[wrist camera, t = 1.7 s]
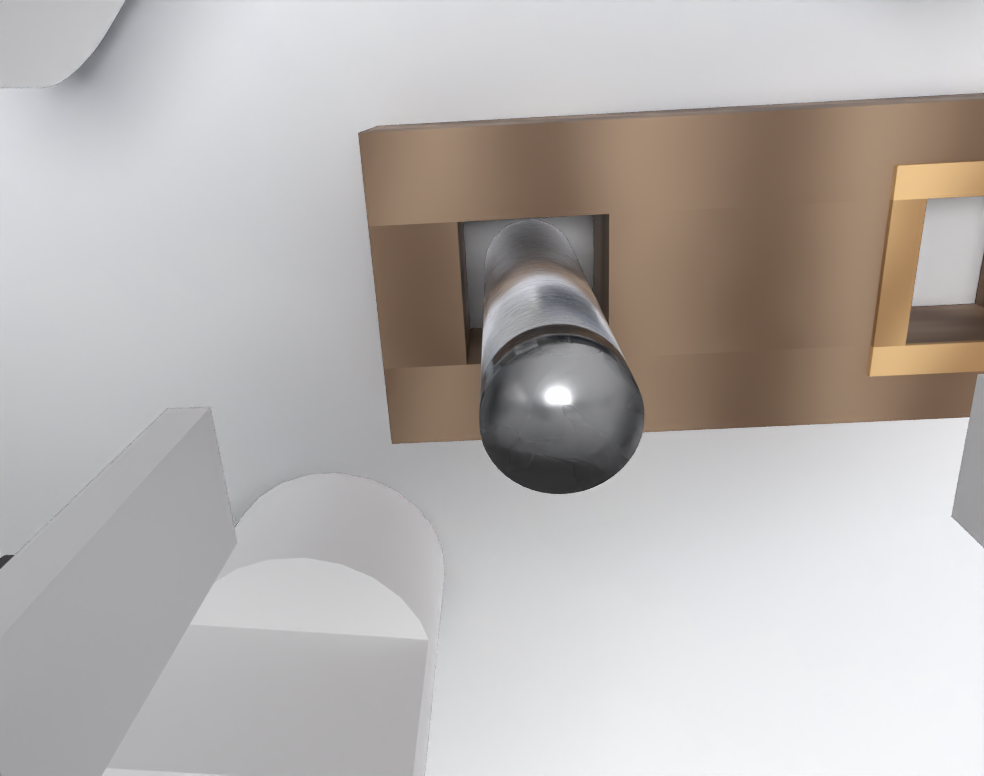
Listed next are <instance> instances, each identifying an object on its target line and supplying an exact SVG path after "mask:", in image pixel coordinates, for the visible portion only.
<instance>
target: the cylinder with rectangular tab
mask: <svg viewBox="0 0 984 776" xmlns="http://www.w3.org/2000/svg"><path fill="white" fill-rule="evenodd" d="M235 534H236V539H237V544H236V546H235V548H234V549H233V551H232V553H231V555H230V556H229V558H228V560H227V561H226V563H225V565H224V567H223V568H222V570H221V572H220V573H219V575H218V577H217V579H216V580H215V582H214V584H213V585H212V587H211V589H210V591H209V592H208V594H207V596H206V597H205V599H204V601H203V603H202V604H201V606H200V608H199V609H198V611H197V613H196V615H195V616H194V618H193V620H192V622H191V623H190V625H189V627H188V628H187V630H186V632H185V634H184V635H183V637H182V639H181V640H180V642H179V644H178V646H177V647H176V649H175V651H174V652H173V654H172V656H171V658H170V659H169V661H168V663H167V664H166V666H165V668H164V670H163V671H162V673H161V675H160V677H159V678H158V680H157V682H156V683H155V685H154V687H153V689H152V690H151V692H150V694H149V695H148V697H147V699H146V701H145V702H144V704H143V706H142V707H141V709H140V711H139V713H138V714H137V716H136V718H135V719H134V721H133V723H132V725H131V726H130V728H129V730H128V731H127V733H126V735H125V737H124V738H123V740H122V742H121V744H120V745H119V747H118V749H117V750H116V752H115V754H114V756H113V757H112V759H111V761H110V762H109V764H108V766H107V768H106V769H105V771H104V773H103V774H102V776H425V770H426V760H427V749H428V739H429V729H430V719H431V709H432V698H433V688H434V678H435V668H436V658H437V647H438V637H439V627H440V617H441V607H442V597H443V586H444V576H445V573H444V562H443V551H442V548H441V546H440V543H439V541H438V539H437V536H436V534H435V531H434V529H433V527H432V526H431V524H430V523H429V522H428V521H427V519H426V518H425V517H424V516H423V514H422V513H421V512H420V510H419V509H418V508H417V507H416V506H415V505H414V504H412V503H411V502H410V501H408V500H407V499H406V498H404V497H403V496H402V495H400V494H399V493H398V492H397V491H395V490H394V489H391V488H389V487H387V486H384V485H382V484H380V483H378V482H375V481H373V480H371V479H368V478H364V477H359V476H353V475H348V474H342V473H324V474H309V475H305V476H302V477H299V478H295V479H292V480H289V481H285V482H282V483H281V484H279V485H277V486H276V487H274V488H273V489H271V490H269V491H268V492H266V493H265V494H263V495H261V496H260V497H259V498H258V499H257V500H256V501H255V502H254V504H253V505H252V506H251V507H250V508H249V509H248V510H247V511H246V513H245V514H244V515H243V516H242V518H241V520H240V521H239V523H238V525H237V527H236V528H235Z"/></svg>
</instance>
